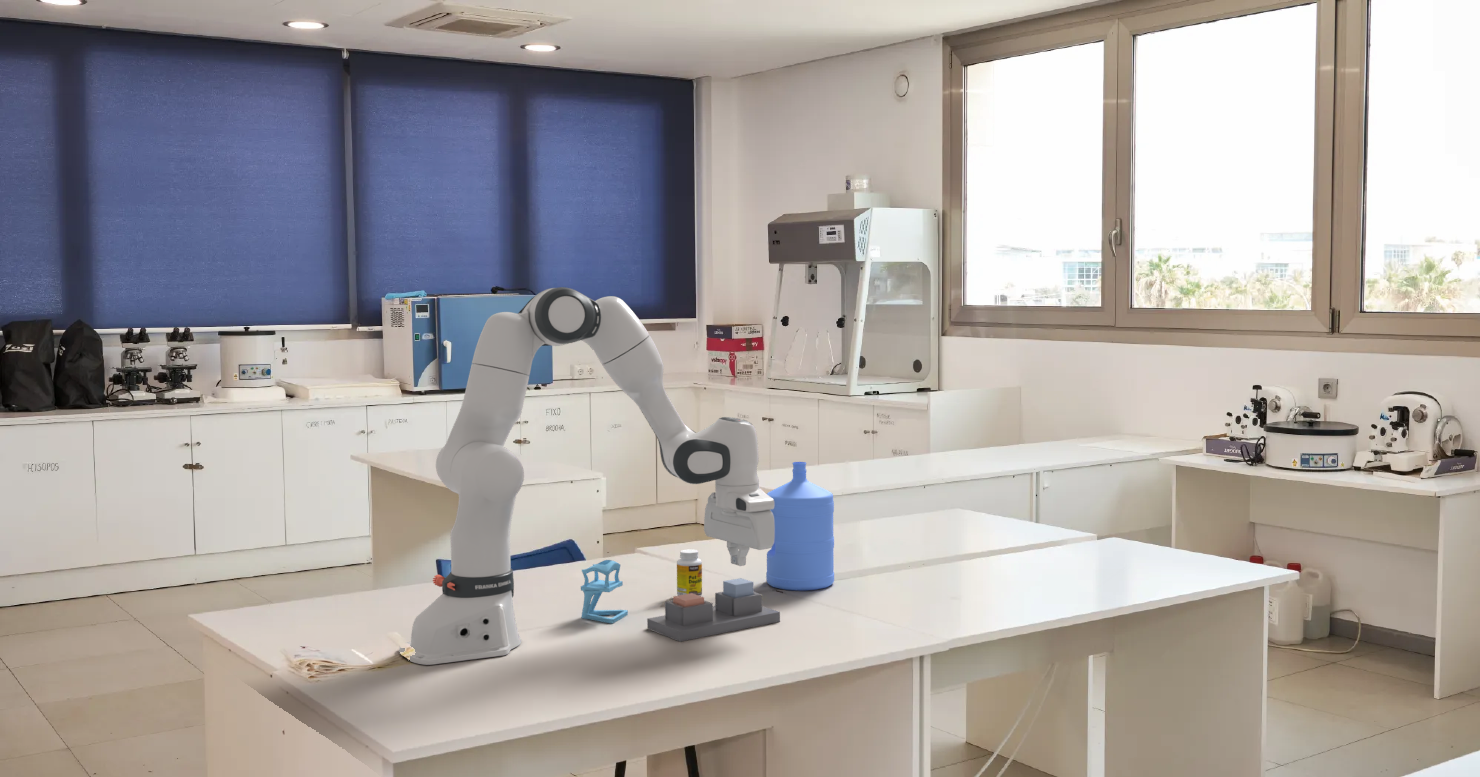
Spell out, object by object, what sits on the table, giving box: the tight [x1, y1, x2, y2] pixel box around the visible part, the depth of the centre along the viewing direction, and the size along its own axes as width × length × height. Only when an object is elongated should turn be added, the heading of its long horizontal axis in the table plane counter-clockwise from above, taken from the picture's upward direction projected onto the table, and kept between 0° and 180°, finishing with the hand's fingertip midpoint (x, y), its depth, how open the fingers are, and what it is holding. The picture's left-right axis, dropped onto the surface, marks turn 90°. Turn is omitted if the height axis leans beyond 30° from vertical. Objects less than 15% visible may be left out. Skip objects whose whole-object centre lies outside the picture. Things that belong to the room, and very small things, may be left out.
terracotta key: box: [673, 593, 705, 607], centre depth 240 cm, size 4×4×3 cm
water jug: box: [765, 461, 835, 592], centre depth 278 cm, size 16×16×28 cm
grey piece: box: [646, 591, 781, 642], centre depth 244 cm, size 24×12×6 cm, turn 125°
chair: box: [580, 559, 629, 624], centre depth 251 cm, size 8×8×12 cm
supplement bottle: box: [676, 548, 703, 596], centre depth 268 cm, size 6×6×10 cm
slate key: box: [722, 577, 755, 598], centre depth 247 cm, size 4×4×3 cm
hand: (738, 564), depth 247 cm, fingers closed
